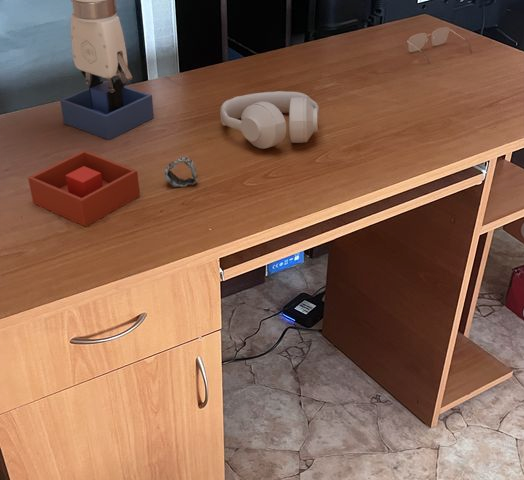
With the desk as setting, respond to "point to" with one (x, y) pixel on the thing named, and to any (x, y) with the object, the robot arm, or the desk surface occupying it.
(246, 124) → the headphones
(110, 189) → the red bin
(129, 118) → the blue bin
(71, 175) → the red block
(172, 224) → the desk surface
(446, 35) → the eyeglasses
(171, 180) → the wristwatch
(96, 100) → the blue block
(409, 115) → the desk surface
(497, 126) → the desk surface
